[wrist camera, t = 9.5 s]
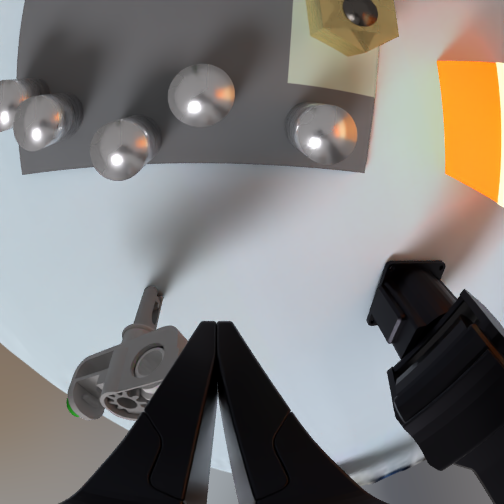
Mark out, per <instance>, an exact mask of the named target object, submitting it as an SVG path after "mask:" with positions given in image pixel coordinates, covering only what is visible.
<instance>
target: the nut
mask: <svg viewBox="0 0 504 504" xmlns="http://www.w3.org/2000/svg"><path fill="white" fill-rule="evenodd" d="M305 1H306V8H307V15H308V23H309V31H310V36H311V37H313V38H315V39H317V40H319V41H321V42H323V43H325V44H326V45H328V46H330V47H332V48H334V49H335V50H337V51H339V52H341V53H342V54H344V55H346V56H347V57H349V56H353V55H358V54H362V53H366V52H368V51H370V50H372V49H374V48H376V47H378V46H380V45H382V44H384V43H386V42H388V41H390V40H392V39H394V38H396V37H399V34H398V26H397V19H396V12H395V6H394V0H305Z"/></svg>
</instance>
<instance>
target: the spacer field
mask: <svg viewBox="0 0 504 504" xmlns="http://www.w3.org/2000/svg"><path fill="white" fill-rule="evenodd" d="M234 99H235V89H234V85H233V82H232V80H231V79H230V77H229V76H228V75H227V73H226V72H224V71H223V70H222V69H220V68H218V67H216V66H214V65H210V64H196V65H192V66H189V67H187V68H185V69H183V70H182V71H181V72H179V73H178V74H177V75H176V76H175V78H174V79H173V80H172V82H171V84H170V87H169V90H168V103H169V107H170V109H171V111H172V113H173V114H174V116H175V117H176V118H177V119H178V120H180V121H181V122H183V123H185V124H187V125H190V126H194V127H206V126H210V125H213V124H215V123H217V122H219V121H221V120H222V119H223V118H224V117H225V116H226V115H227V114H228V113H229V111H230V110H231V108H232V106H233V103H234ZM82 120H83V108H82V104H81V102H80V100H79V99H78V98H77V97H76V96H75V95H73V94H70V93H58V94H50V91H49V87H48V85H47V84H46V82H45V81H43V80H42V79H39V78H29V79H12V80H2V81H0V132H2V131H5V130H8V129H11V128H13V130H14V135H15V138H16V140H17V142H18V144H19V145H20V146H21V147H22V148H23V149H25V150H27V151H37V150H40V149H42V148H44V147H47V146H49V145H52V144H54V143H57V142H59V141H62V140H64V139H67V138H69V137H71V136H73V135H74V134H75V133H76V132H77V131H78V129H79V128H80V126H81V123H82ZM284 129H285V134H286V137H287V139H288V140H289V142H290V143H291V144H292V145H293V146H295V147H296V148H297V149H298V150H300V151H301V152H302V153H304V154H305V155H306V156H307V157H309V158H310V159H311V160H313V161H314V162H317V163H319V164H324V165H332V164H336V163H339V162H341V161H343V160H344V159H346V158H347V157H348V156H349V155H350V154H351V153H352V151H353V149H354V147H355V145H356V141H357V128H356V125H355V122H354V120H353V119H352V117H351V116H350V114H349V113H348V112H346V111H345V110H344V109H342V108H340V107H338V106H335V105H329V104H322V103H314V102H304V103H301V104H298V105H296V106H295V107H293V108H292V109H291V110H290V111H289V113H288V114H287V116H286V119H285V123H284ZM160 145H161V132H160V129H159V127H158V126H157V124H156V123H155V122H154V121H153V120H152V119H150V118H149V117H146V116H143V115H133V116H129V117H126V118H122V119H118V120H115V121H112V122H109V123H106V124H105V125H103V126H102V127H100V128H99V129H98V131H97V132H96V133H95V135H94V136H93V138H92V141H91V145H90V157H91V161H92V164H93V166H94V167H95V169H96V170H97V171H98V172H99V174H101V175H102V176H103V177H105V178H107V179H110V180H114V181H122V180H126V179H129V178H131V177H133V176H134V175H135V174H137V173H138V172H139V171H140V170H141V169H142V168H143V167H144V166H145V165H146V164H147V163H148V162H149V161H150V160H151V159H152V158H153V157H154V156H155V155H156V154H157V152H158V151H159V148H160Z"/></svg>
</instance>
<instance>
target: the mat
mask: <svg viewBox="0 0 504 504" xmlns="http://www.w3.org/2000/svg"><path fill="white" fill-rule="evenodd" d="M378 52H379V46H378V47H376V48H374V49H372V50H370V51H368V52H366V53H362V54H358V55H353V56H349V57H347V56H346V55H344V54H342V53H341V52H339V51H337V50H335V49H334V48H332V47H330V46H328V45H326V44H325V43H323V42H321V41H319V40H317V39H315V38H313V37H311V36H310V31H309V23H308V15H307V8H306V1H305V0H25V3H24V9H23V15H22V21H21V29H20V37H19V46H18V59H17V79H29V78H39V79H42V80H43V81H45V82H46V84H47V85H48V87H49V91H50V94H58V93H70V94H73V95H75V96H76V97H77V98H78V99H79V100H80V102H81V104H82V108H83V120H82V123H81V126H80V128H79V129H78V131H77V132H76V133H75V134H74V135H73V136H71V137H69V138H67V139H64V140H62V141H59V142H57V143H54V144H52V145H49V146H47V147H44V148H42V149H40V150H37V151H27V150H25V149H23V148H22V147H21V146H20V145H19V152H20V161H21V169H22V175H25V174H32V173H40V172H48V171H57V170H66V169H76V168H87V167H94V166H93V164H92V161H91V157H90V145H91V141H92V138H93V136H94V135H95V133H96V132H97V131H98V129H99V128H100V127H102V126H103V125H105V124H106V123H109V122H112V121H115V120H118V119H122V118H126V117H129V116H133V115H143V116H146V117H149V118H150V119H152V120H153V121H154V122H155V123H156V124H157V126H158V127H159V129H160V132H161V145H160V148H159V151H158V152H157V154H156V155H155V156H154V157H153V158H152V159H151V160H150V161H149V162H148V163H147V164H161V163H234V164H262V165H281V166H296V167H310V168H322V169H332V170H342V171H352V172H361V173H364V172H365V166H366V160H367V154H368V147H369V140H370V133H371V125H372V118H373V109H374V100H375V90H376V79H377V67H378ZM196 64H210V65H214V66H216V67H218V68H220V69H222V70H223V71H224V72H226V73H227V75H228V76H229V77H230V79H231V80H232V82H233V85H234V89H235V99H234V103H233V106H232V108H231V110H230V111H229V113H228V114H227V115H226V116H225V117H224V118H223V119H222V120H221V121H219V122H217V123H215V124H213V125H210V126H206V127H194V126H190V125H187V124H185V123H183V122H181V121H180V120H178V119H177V118H176V117H175V116H174V114H173V113H172V111H171V109H170V107H169V103H168V90H169V87H170V84H171V82H172V80H173V79H174V78H175V76H176V75H177V74H178V73H179V72H181V71H182V70H183V69H185V68H187V67H189V66H192V65H196ZM304 102H314V103H322V104H329V105H335V106H338V107H340V108H342V109H344V110H345V111H346V112H348V113H349V114H350V116H351V117H352V119H353V120H354V122H355V125H356V128H357V141H356V145H355V147H354V149H353V151H352V153H351V154H350V155H349V156H348V157H347V158H346V159H344V160H343V161H341V162H339V163H336V164H332V165H324V164H319V163H317V162H314V161H313V160H311V159H310V158H309V157H307V156H306V155H305V154H304V153H302V152H301V151H300V150H298V149H297V148H296V147H295V146H293V145H292V144H291V143H290V142H289V140H288V139H287V137H286V134H285V129H284V123H285V119H286V116H287V114H288V113H289V111H290V110H291V109H292V108H293V107H295V106H296V105H298V104H301V103H304Z"/></svg>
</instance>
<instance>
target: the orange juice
mask: <svg viewBox="0 0 504 504" xmlns="http://www.w3.org/2000/svg"><path fill="white" fill-rule="evenodd" d="M437 66H438V72H439V79H440V86H441V95H442V105H443V116H444V132H445V174H447V175H449V176H451V177H453V178H455V179H457V180H459V181H460V182H462V183H464V184H466V185H468V186H470V187H471V188H473V189H475V190H477V191H478V192H480V193H482V194H483V195H485V196H487V197H489V198H490V199H492V200H493V201H495V202H497V204H498V205H500V206H502V207H503V208H504V63H499V62H496V63H490V62H473V61H437Z"/></svg>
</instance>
